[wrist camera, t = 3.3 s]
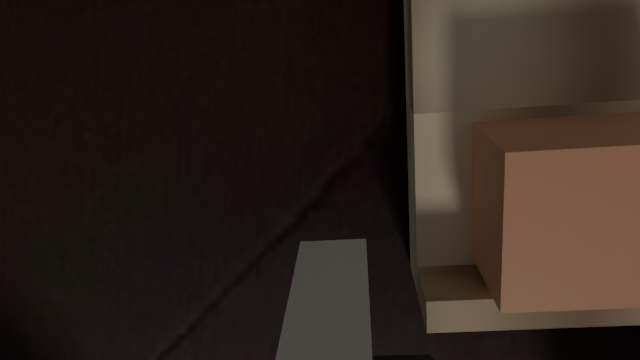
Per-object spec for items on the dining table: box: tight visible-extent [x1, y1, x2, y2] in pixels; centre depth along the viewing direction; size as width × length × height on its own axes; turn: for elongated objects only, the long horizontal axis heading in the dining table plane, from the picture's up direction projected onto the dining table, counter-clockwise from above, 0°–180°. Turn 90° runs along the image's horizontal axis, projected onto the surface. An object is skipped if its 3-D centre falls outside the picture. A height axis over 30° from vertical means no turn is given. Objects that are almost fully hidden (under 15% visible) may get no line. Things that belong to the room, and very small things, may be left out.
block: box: [471, 112, 640, 313], centre depth 17 cm, size 6×5×4 cm
